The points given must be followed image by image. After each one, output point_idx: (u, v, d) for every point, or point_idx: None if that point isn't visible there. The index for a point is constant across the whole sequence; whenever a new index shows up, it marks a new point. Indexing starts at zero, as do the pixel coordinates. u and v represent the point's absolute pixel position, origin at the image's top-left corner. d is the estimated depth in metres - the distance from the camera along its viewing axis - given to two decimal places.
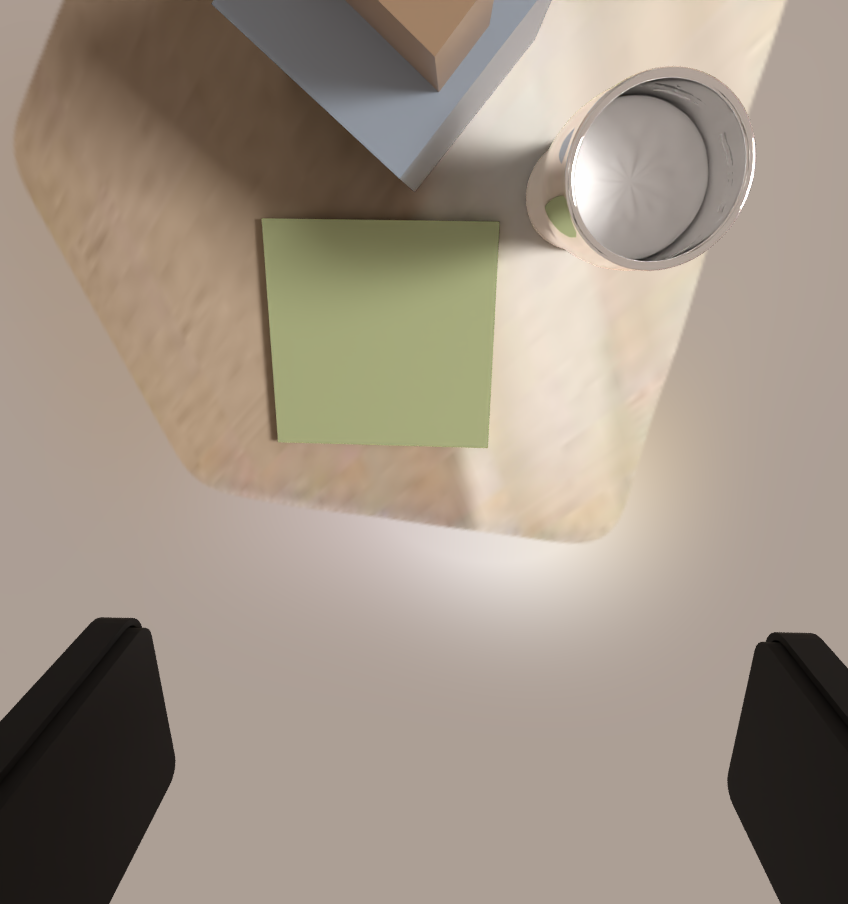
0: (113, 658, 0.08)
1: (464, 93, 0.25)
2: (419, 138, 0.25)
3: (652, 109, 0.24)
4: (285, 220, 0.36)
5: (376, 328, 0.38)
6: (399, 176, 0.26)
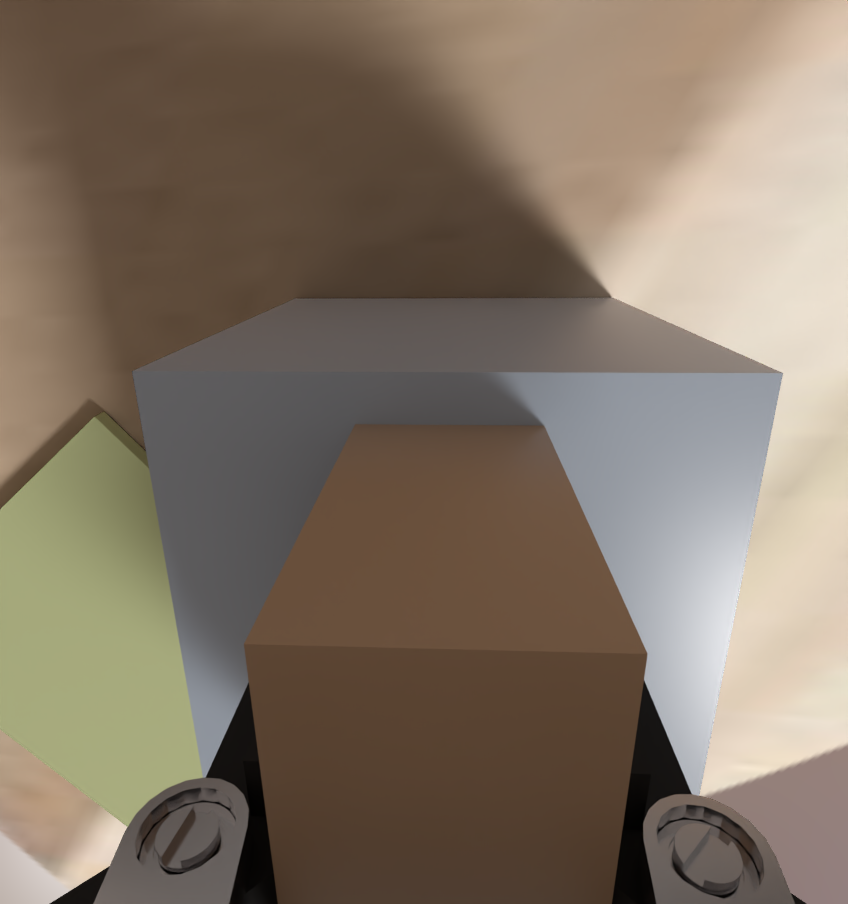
0: None
1: None
2: None
3: None
4: (125, 448, 0.21)
5: (127, 643, 0.24)
6: None
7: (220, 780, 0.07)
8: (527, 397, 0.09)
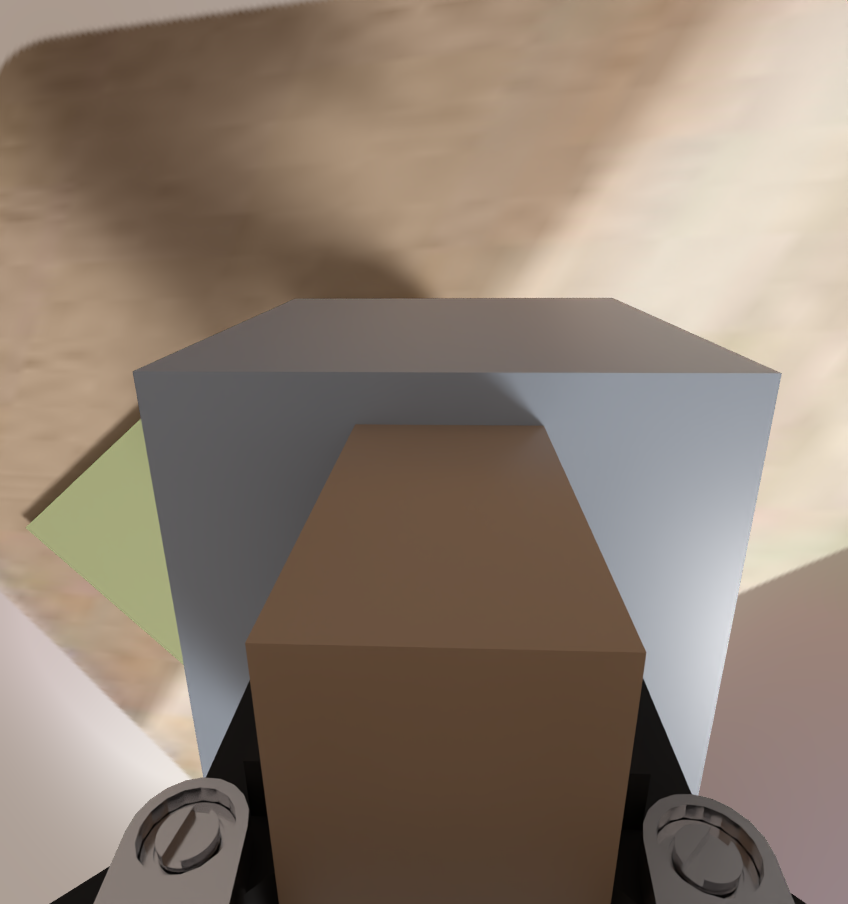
0: None
1: None
2: None
3: None
4: None
5: None
6: None
7: (221, 780, 0.07)
8: (527, 398, 0.10)
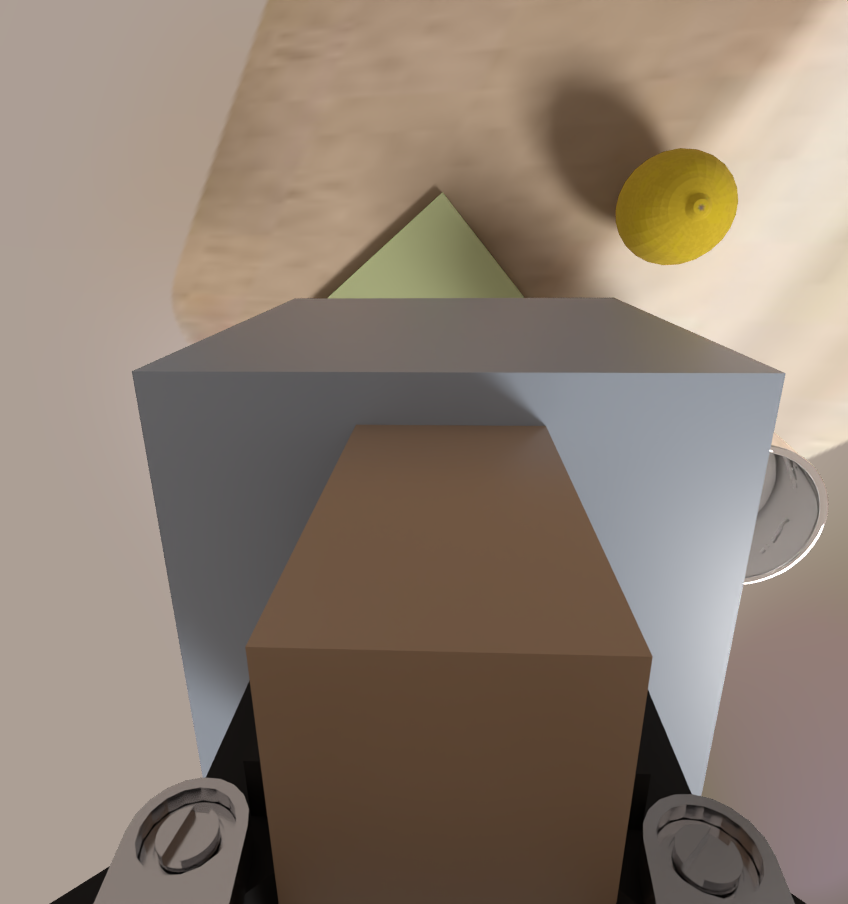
0: None
1: None
2: None
3: None
4: (456, 213, 0.35)
5: None
6: None
7: (220, 780, 0.07)
8: (529, 398, 0.09)
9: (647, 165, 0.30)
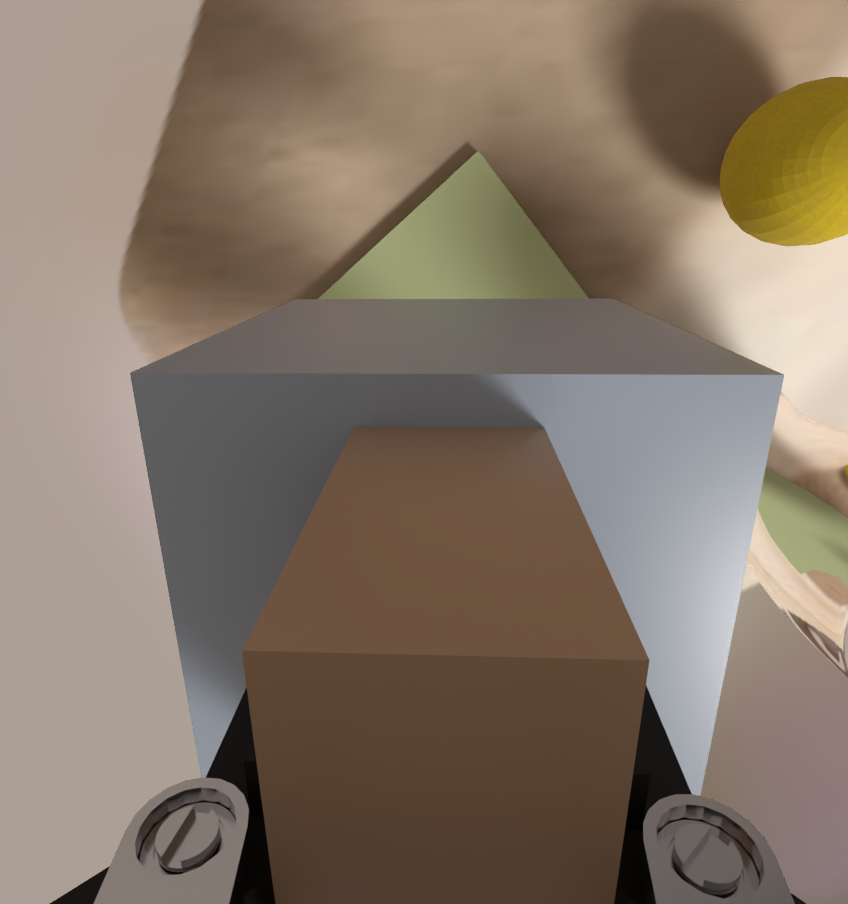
0: None
1: None
2: None
3: None
4: (497, 179, 0.26)
5: None
6: None
7: (220, 780, 0.07)
8: (527, 399, 0.09)
9: (780, 101, 0.21)
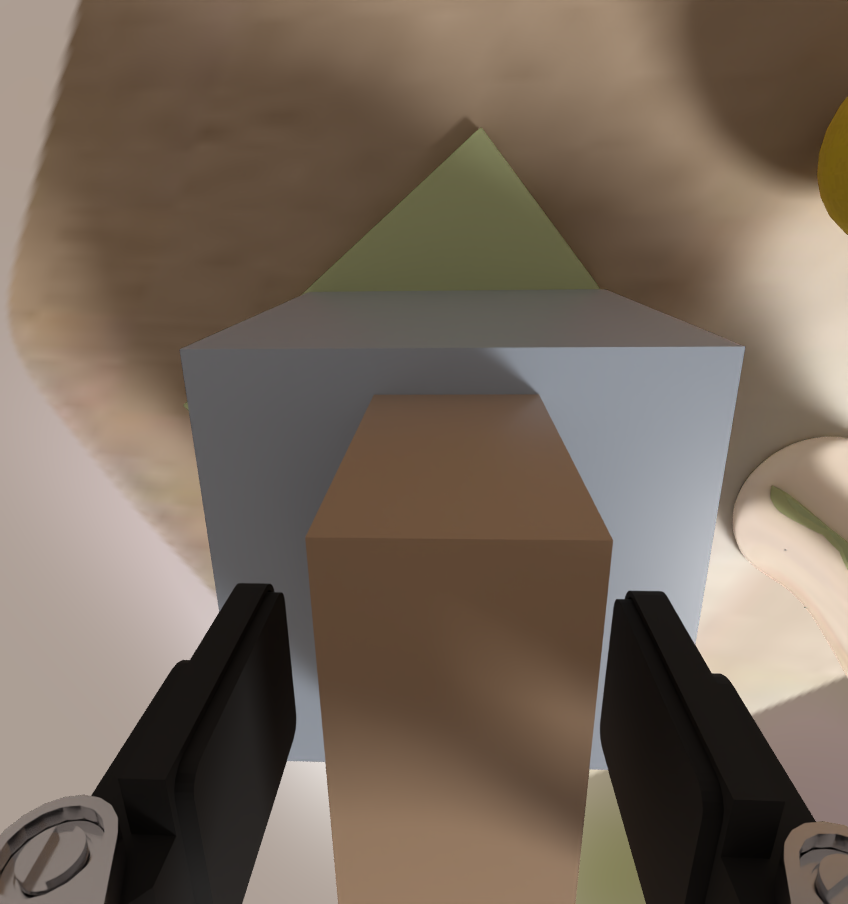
0: (263, 617, 0.09)
1: None
2: (312, 750, 0.14)
3: None
4: (506, 167, 0.19)
5: None
6: None
7: (96, 798, 0.06)
8: (524, 369, 0.11)
9: None
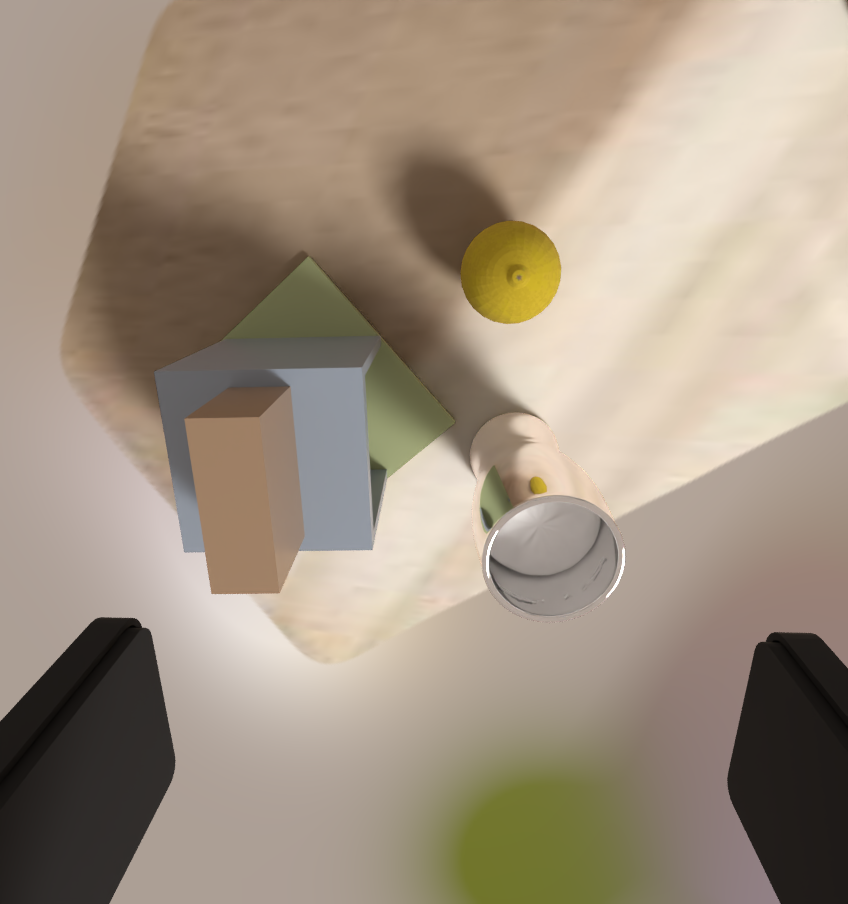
0: (113, 658, 0.08)
1: None
2: None
3: None
4: (323, 275, 0.38)
5: None
6: (185, 551, 0.32)
7: None
8: (283, 377, 0.29)
9: (479, 236, 0.33)
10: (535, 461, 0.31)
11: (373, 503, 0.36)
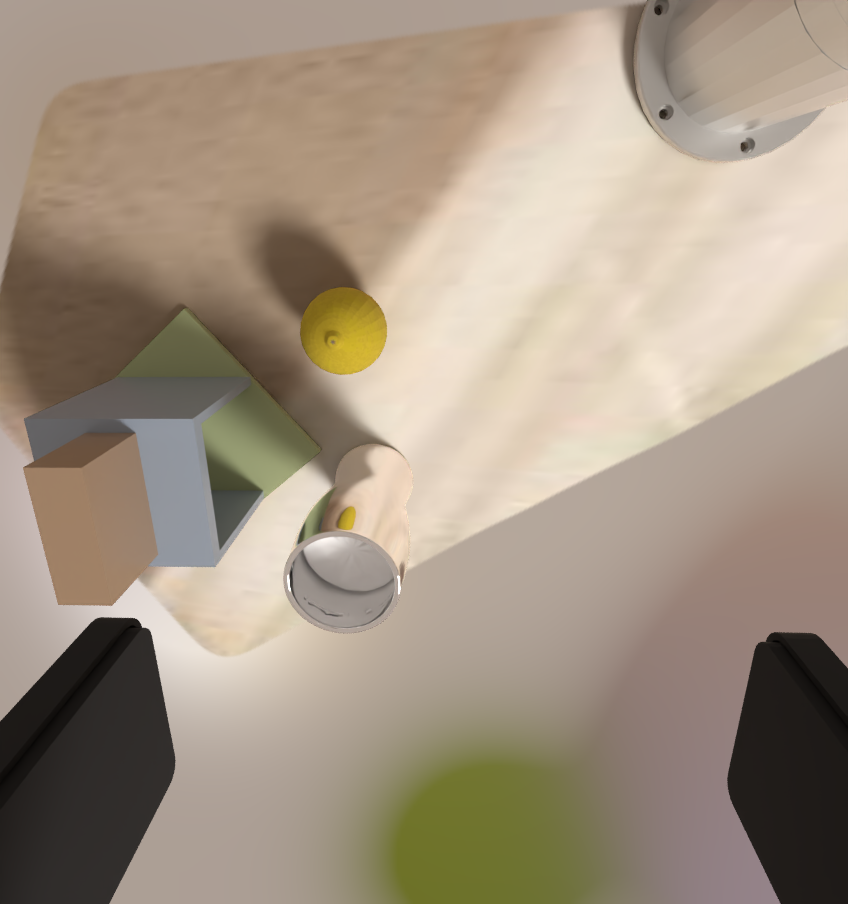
0: (113, 658, 0.08)
1: None
2: None
3: None
4: (197, 325, 0.44)
5: None
6: None
7: None
8: (129, 425, 0.35)
9: (311, 302, 0.38)
10: (344, 497, 0.36)
11: (233, 524, 0.43)
